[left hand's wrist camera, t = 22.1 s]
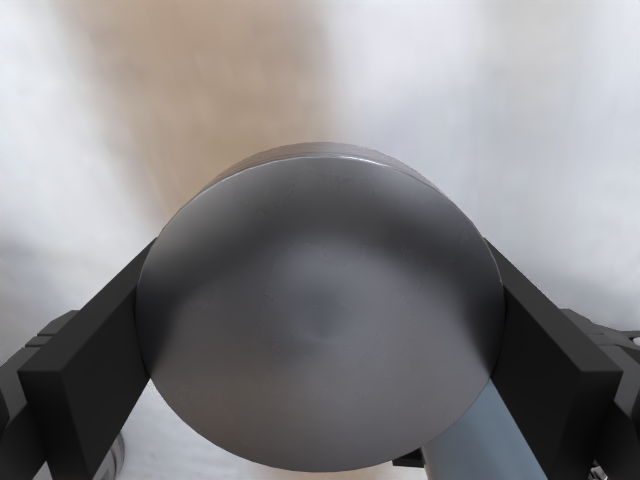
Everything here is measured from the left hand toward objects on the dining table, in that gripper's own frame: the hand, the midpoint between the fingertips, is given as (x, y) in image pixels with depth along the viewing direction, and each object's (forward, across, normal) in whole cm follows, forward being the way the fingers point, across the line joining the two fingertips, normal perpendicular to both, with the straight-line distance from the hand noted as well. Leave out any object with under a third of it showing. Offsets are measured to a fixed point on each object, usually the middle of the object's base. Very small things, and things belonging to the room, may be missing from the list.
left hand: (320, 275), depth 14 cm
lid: (-3, 0, 0) cm, 3 cm away
